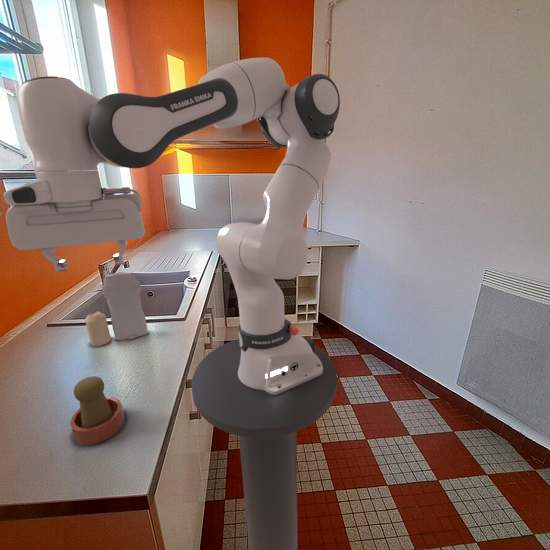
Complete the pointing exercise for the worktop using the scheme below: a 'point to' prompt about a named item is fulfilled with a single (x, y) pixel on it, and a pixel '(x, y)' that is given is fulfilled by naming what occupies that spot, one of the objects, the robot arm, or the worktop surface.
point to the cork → (92, 402)
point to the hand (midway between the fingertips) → (92, 267)
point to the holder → (102, 430)
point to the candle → (97, 329)
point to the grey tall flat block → (125, 305)
